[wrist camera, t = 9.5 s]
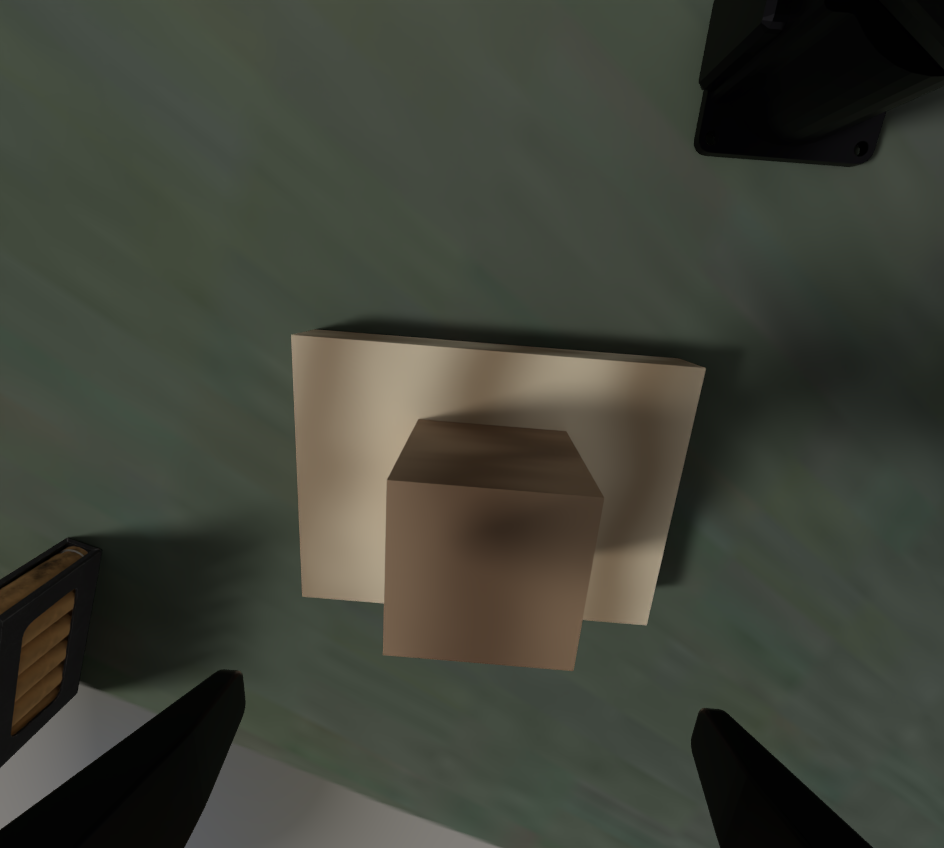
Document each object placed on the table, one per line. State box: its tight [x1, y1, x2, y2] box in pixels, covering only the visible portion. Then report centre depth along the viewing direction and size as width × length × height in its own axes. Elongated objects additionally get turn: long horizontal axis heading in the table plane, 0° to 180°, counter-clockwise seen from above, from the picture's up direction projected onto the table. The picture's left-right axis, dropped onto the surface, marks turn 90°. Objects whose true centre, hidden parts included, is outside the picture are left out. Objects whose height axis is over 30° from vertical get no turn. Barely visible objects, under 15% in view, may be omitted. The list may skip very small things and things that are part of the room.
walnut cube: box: [383, 419, 604, 671], centre depth 16 cm, size 6×6×6 cm
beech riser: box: [291, 329, 706, 625], centre depth 20 cm, size 16×12×2 cm
